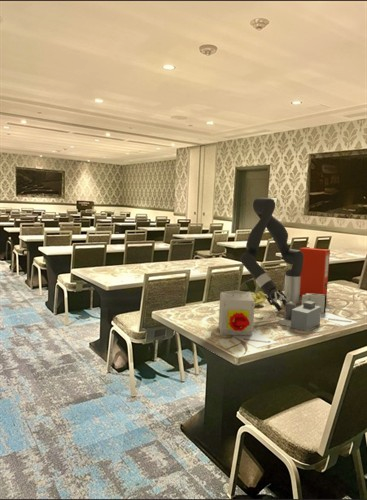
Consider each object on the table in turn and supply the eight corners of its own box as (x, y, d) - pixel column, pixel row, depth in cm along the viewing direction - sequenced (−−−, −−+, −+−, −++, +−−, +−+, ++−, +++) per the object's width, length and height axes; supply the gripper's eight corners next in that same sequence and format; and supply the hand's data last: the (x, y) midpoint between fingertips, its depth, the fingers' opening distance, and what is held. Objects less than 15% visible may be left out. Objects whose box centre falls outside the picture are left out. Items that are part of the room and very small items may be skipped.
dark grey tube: (287, 320, 192) (288, 300, 190) (296, 322, 188) (297, 302, 187) (282, 322, 188) (283, 302, 187) (292, 325, 184) (293, 304, 183)
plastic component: (243, 305, 210) (234, 295, 217) (240, 315, 214) (231, 304, 221) (269, 299, 220) (259, 289, 227) (266, 308, 223) (256, 298, 230)
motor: (295, 315, 200) (297, 295, 199) (322, 321, 190) (324, 300, 189) (278, 323, 186) (279, 302, 184) (306, 331, 176) (307, 308, 174)
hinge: (301, 312, 207) (302, 295, 206) (299, 310, 212) (300, 293, 211) (326, 313, 206) (327, 296, 205) (323, 310, 211) (324, 293, 210)
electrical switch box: (221, 343, 164) (223, 302, 158) (218, 328, 178) (220, 289, 173) (254, 344, 164) (257, 303, 158) (248, 328, 178) (251, 290, 173)
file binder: (301, 293, 253) (304, 247, 249) (326, 297, 242) (329, 249, 238) (296, 295, 247) (299, 248, 243) (321, 299, 236) (325, 250, 232)
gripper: (263, 281, 188) (283, 307, 182) (277, 277, 199) (295, 302, 193) (254, 289, 193) (272, 315, 186) (267, 285, 203) (285, 309, 197)
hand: (284, 308), depth 190 cm, fingers open, 8 cm apart
